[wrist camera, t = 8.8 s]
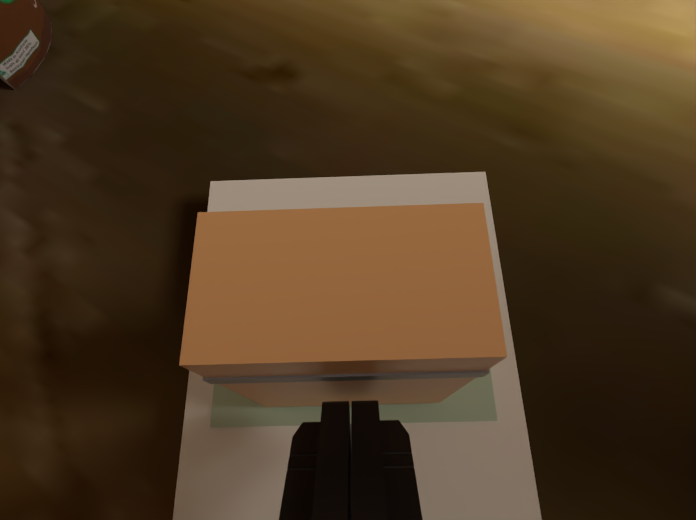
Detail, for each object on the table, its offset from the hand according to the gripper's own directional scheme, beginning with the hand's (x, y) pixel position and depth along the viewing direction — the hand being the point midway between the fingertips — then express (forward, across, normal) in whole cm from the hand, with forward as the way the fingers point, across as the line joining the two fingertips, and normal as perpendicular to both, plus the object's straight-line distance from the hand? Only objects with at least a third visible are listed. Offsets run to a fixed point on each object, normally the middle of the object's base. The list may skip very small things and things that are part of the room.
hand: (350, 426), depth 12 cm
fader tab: (+4, 0, +1) cm, 4 cm away
